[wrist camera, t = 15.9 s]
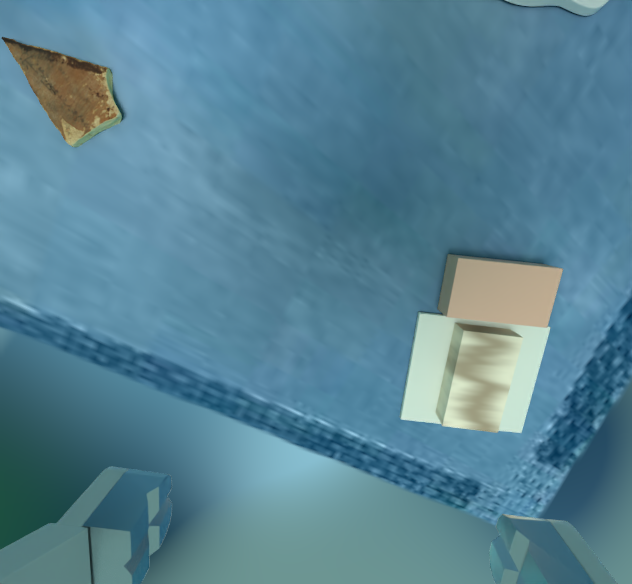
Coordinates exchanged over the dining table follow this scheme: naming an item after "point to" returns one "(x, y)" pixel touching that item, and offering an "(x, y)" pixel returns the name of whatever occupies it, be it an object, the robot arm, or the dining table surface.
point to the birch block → (477, 377)
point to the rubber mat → (431, 363)
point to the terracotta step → (498, 290)
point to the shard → (69, 91)
